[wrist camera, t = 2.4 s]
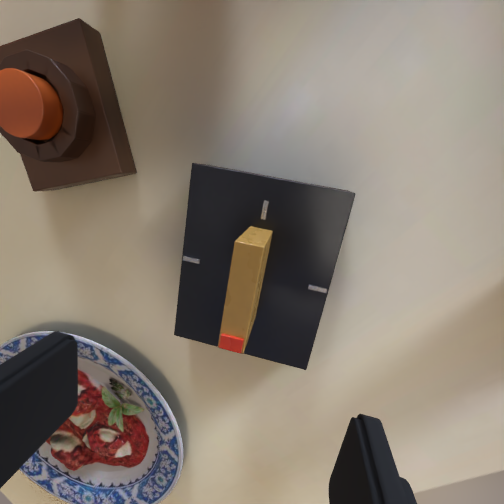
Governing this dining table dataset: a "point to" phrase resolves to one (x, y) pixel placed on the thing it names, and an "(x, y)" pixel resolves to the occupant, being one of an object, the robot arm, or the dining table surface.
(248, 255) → the tap lever
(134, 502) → the ceramic plate
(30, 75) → the button
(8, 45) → the button block
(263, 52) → the dining table surface
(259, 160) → the dining table surface
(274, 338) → the plate
